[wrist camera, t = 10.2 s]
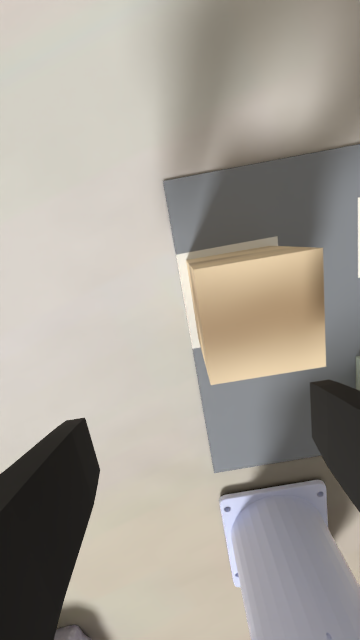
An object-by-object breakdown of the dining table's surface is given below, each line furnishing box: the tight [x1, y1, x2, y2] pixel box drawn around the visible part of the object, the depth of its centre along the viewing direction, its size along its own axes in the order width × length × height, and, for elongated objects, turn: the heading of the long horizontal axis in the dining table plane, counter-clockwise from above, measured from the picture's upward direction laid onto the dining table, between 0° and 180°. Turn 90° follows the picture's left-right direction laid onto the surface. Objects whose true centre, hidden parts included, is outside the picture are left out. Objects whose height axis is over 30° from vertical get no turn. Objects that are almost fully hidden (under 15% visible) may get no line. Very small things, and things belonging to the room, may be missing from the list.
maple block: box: [186, 246, 326, 385], centre depth 14 cm, size 5×5×6 cm
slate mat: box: [163, 144, 360, 473], centre depth 18 cm, size 20×17×1 cm
